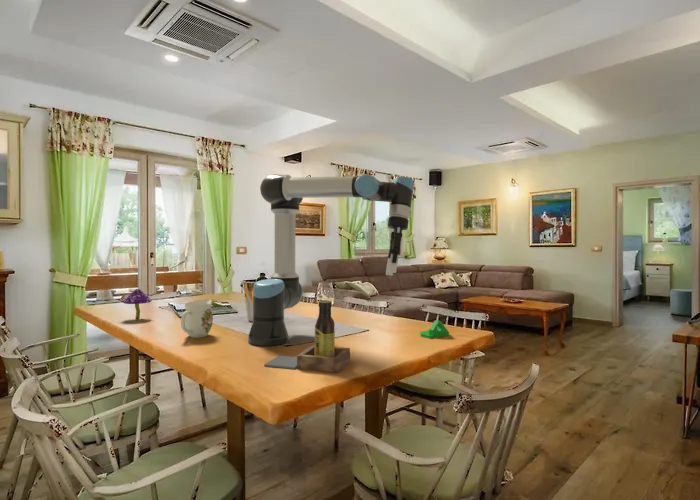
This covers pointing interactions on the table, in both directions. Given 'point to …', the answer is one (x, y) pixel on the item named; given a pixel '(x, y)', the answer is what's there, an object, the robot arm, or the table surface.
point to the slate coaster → (283, 362)
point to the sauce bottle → (324, 331)
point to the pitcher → (197, 318)
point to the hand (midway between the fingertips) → (390, 274)
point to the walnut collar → (323, 360)
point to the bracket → (435, 330)
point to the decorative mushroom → (137, 300)
